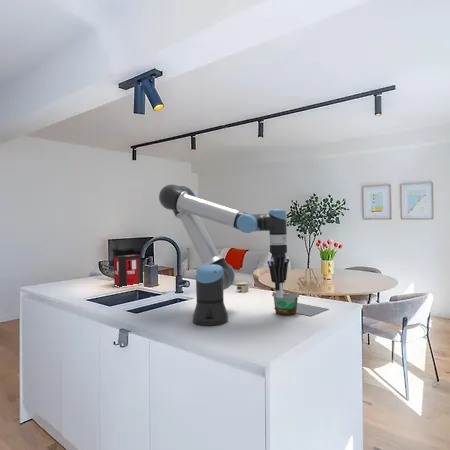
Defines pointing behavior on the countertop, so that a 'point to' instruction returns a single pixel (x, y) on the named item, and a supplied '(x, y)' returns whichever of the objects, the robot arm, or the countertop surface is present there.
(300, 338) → the countertop surface
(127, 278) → the cleaning product box
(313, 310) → the rubber mat
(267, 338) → the countertop surface
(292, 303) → the food container
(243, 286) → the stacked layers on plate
